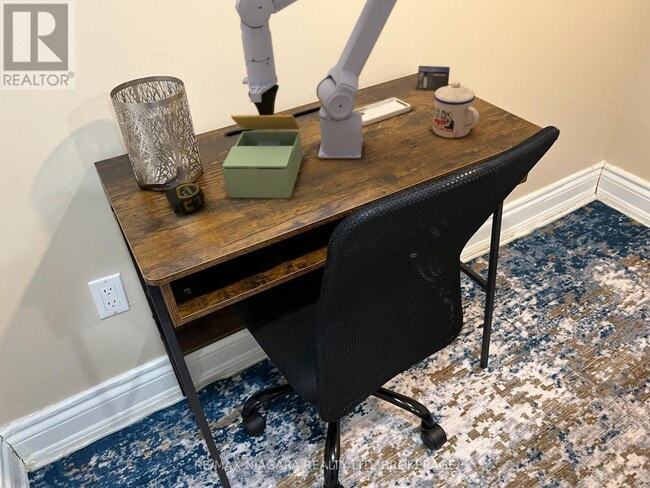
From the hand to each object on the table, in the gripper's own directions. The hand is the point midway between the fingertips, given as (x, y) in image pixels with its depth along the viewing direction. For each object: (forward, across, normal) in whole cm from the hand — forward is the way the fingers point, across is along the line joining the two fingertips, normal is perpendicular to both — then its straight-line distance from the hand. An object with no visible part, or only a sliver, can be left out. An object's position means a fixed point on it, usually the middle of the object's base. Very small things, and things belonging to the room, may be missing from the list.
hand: (267, 121), depth 110 cm
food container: (+10, +7, -22) cm, 25 cm away
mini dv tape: (+10, -41, +37) cm, 56 cm away
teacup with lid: (+10, -14, +41) cm, 44 cm away
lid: (0, +2, 0) cm, 2 cm away
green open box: (+9, +7, 0) cm, 12 cm away
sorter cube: (+9, +3, 0) cm, 9 cm away
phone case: (+10, -25, +23) cm, 35 cm away
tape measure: (+10, +19, -14) cm, 26 cm away
